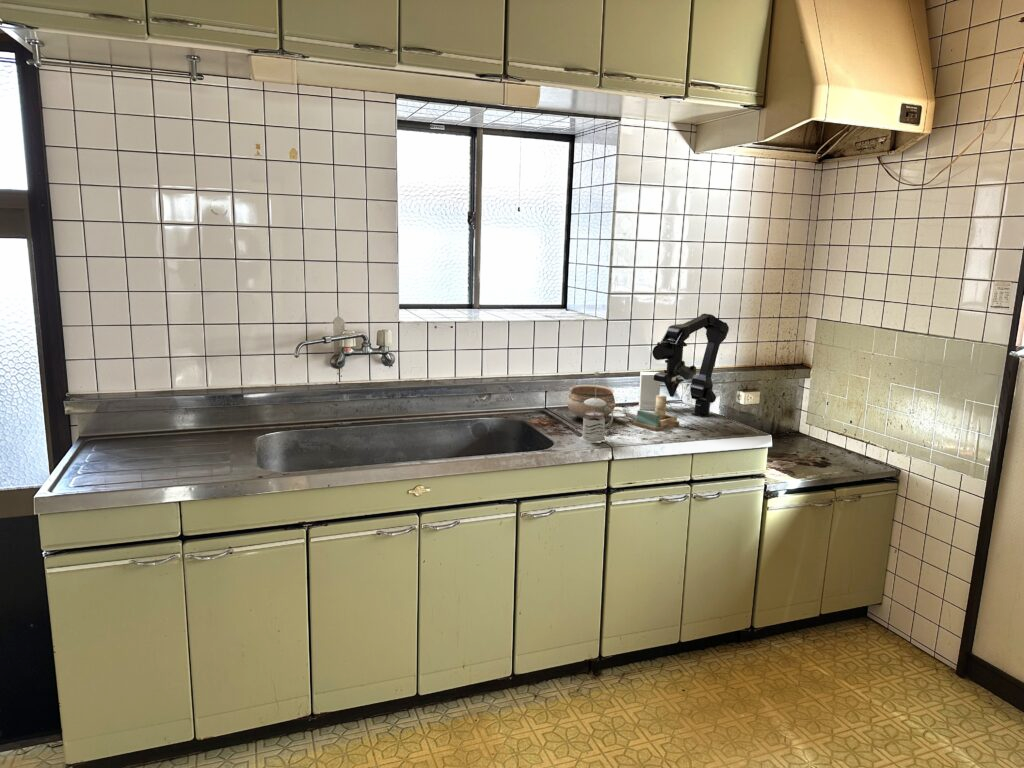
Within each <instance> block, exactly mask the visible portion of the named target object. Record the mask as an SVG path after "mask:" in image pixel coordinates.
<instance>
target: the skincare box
mask: <svg viewBox="0 0 1024 768" xmlns="http://www.w3.org/2000/svg"><path fill="white" fill-rule="evenodd" d="M656 373H660V372H659V371H640V373H639V374H640V375H639V395H638V408H639V410H643V411H655V405H656V396H657V395H661V394H660V391H661V390H660V389H661V382H660V381H655V380H654V375H655V374H656Z"/></svg>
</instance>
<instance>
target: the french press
mask: <svg viewBox="0 0 1024 768" xmlns="http://www.w3.org/2000/svg"><path fill="white" fill-rule="evenodd" d="M593 375H594V376H596V377H595V378H596V379H595V385H598V383H597V382H598V376H600V372H599V371H594V373H593ZM584 404H585V405H588V406H594V407H601V406H605V405H606V402H605V401H604V400H601V399H599V398H596V392H595V398H590V399H587V400H585V401H584ZM605 407H606V408H608V409H610V408H609V407H607V406H605ZM610 410H611V409H610ZM605 411H606V409H605ZM585 415H586V416H584V417H583V420H582V436H580V437H579V439H581V440H583V441H588V442H594V441H601V440H605V439H606V438H605V434H606V428H607V427H609V426H610V425H612V423H613V422H614V421H613V420H614V412H613V411H612V410H611V418H610V420H609V421H608V423H607V424H606V418H605V417H603V416H604V413H602V412H595V409H594V411H588V412H585ZM591 418H597V419H599V420H590V419H591ZM581 440H580V441H581Z"/></svg>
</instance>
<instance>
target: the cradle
mask: <svg viewBox="0 0 1024 768" xmlns="http://www.w3.org/2000/svg"><path fill="white" fill-rule="evenodd" d="M636 412H637V413H636V420H635V421H632V424H631V425H632V426H634V427H639V428H642V429H645V430H648V431H649V430H650V431H652V432H658V431H661V430H665V429H669V428H672V427H676V426H679V425H680V421H677V420H678V417H677V416H673V415H669V414H666V413H665V419H663V420H660V415H659V414H655V411H653V412H650V411H648V410H640V409H639V410H637V411H636Z"/></svg>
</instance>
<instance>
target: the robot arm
mask: <svg viewBox="0 0 1024 768" xmlns="http://www.w3.org/2000/svg"><path fill="white" fill-rule="evenodd" d="M703 328H704V329H705V335H706V339H707V340H706V341H707V343H706V347H705V349H704V350H705V351H704V354H703V358H702V361H701V366H700V370H699V371H698V372H699V373H698V375H697V367H696V366H695V365H690V366H689V365H688V366H687V365H686V361H684V360H683V358H684V357H683V355H684V347H687V346H688V343H686V340H688V339H689V338H690V336H691V334H693V333H695V332H697V331H699V330H701V329H703ZM729 330H730V327H729V326H728V322H725V321H723V320H721V319H719V318H717V317H716V316H715V315H713V314H711V313H702V314H700V315H699V316H697V317H695V318H693V319H691V320H688V321H686V322H685V323H680V324H679V323H678V324H677V323H676V324H672V325H670V326H668V327H667V330H666V331H665V333H664V335H663V337H662V338H661V339H660V341H658V342H657V343H656V345H655V346H654V347H653V349H652V357H653V358H654V359H655V360H656V361H660V360H662V361H664V363H666V369H664V372H659V373H656V374H655V375H654V380H655V381H660V383H664V386H665V387H666V389H667V390H666V391H667V392H668V395H669V397H671V398H673V397H675V393H676V391H677V390H678V386H679V385H680V384H681V383H682V382H684V381H685V380H686V381H688V380H691V383H690V386H689V387H690V388H689V389H690V390H689V393H690V397H691V399H692V400H695V403H694V411H693V412H691V415H694V416H698V417H703V418H705V417H709V416H713V413H712V412H710V411H711V409H710V408H711V404H712V403H714V402H716V400H717V396H716V394H715V393H714V391H713V387H714V385H713V384H714V383H713V381H712V375H713V370H714V368H715V363H716V360H717V356H718V353H719V349H720V346H721V344H722V343H723V342H724V340H726V338H727V335H728V333H729ZM695 375H697V376H696V377H694V376H695Z"/></svg>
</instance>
